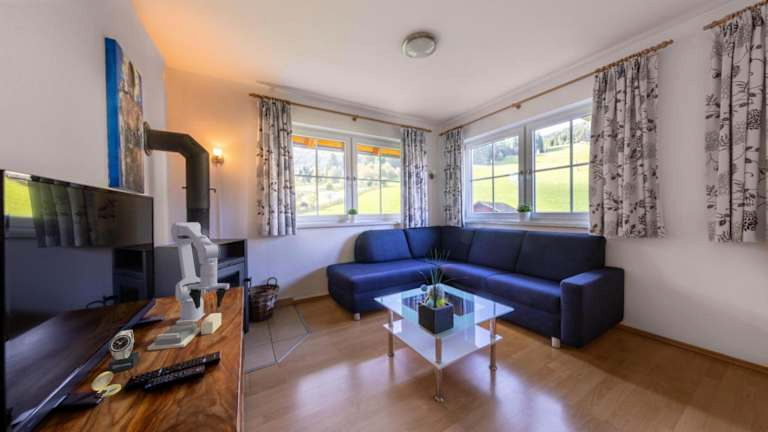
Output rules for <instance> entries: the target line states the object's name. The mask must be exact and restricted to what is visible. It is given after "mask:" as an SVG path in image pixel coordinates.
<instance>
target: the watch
mask: <svg viewBox="0 0 768 432" xmlns="http://www.w3.org/2000/svg"><path fill="white" fill-rule="evenodd" d="M134 343H135V339H134V332H133V329H127V330H120V332H118V333H117V334H116V335H115V336H114V338H113V339H111V340H110V342H109V344H108V348H109V351H110V352H111V355H112V356H113V357H112V358H111V360H110V361H109V362H108V371H107V372H112V373H113V374H114V373H118V372H123V371H127V370H132V369H134V368H135V367H136V365H137V364H138V362H140V360H139V352H140V351H135V352H132V351H133V348H134Z"/></svg>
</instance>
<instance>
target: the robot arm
mask: <svg viewBox="0 0 768 432" xmlns="http://www.w3.org/2000/svg"><path fill="white" fill-rule="evenodd" d="M170 227H171V228H170V234H171V240H172V242H173V243H175V244H176V246H177V249H178V255H179V263H180V271H181V278H182V279H181V280H180V281H178V282H177V283H176V284H175V293H174V294H175V299H176V301H178V302H180V304H179V305H180V306H179V307H180V308H179V309H180V315H179V319H177V321H185V320H194V323H197V322H199V320H201V319H202V317H204V316H205V315H206V314H207V313H206V312H204V310H205V309H204V303H205V301H204V299H203V297H204V296H205V294H206V291H208V290H213V291H215V290H216V291H215V294H216V308H217V309H219V308H220V307H221V306H222V302H223V299H224V296H225V295H226V292H227V291H228V290H229V289H230V283H225V282H223V283H221V282H220V283H219V282H218V258H220V257H221V247H220V245H219V244H218V243H213V242H212V241H211V240H210V239H209V237H208V236H206V235H204V234H202V233H201V230H202V226H201V224H200V222H198V221H195V222H173V223H172V224H171V226H170ZM192 245H193V246H194V248H195V249H196V250H197V257H198V263H199V264H200V272H199V274H200V277H199V276H197V274H196V268H195V262H194V255H193V249H192Z"/></svg>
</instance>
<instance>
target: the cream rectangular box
mask: <svg viewBox="0 0 768 432" xmlns="http://www.w3.org/2000/svg"><path fill="white" fill-rule="evenodd" d="M200 323H201V324H200V325H201V326H200V327H201V331H200V333H201V334H200V335H211V334H214V332H216V331H217V329H218V328H219V327H220V326H221V325H222V312H216V313H210V314H209V315H208V316H207V317H205V318H204V320H202V321H201V322H200Z"/></svg>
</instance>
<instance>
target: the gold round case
mask: <svg viewBox="0 0 768 432" xmlns="http://www.w3.org/2000/svg"><path fill="white" fill-rule="evenodd" d="M113 377H114V372H113V373H112V372H108V371H105V372H102V373H99V375H98V376H97V377H95V379H94V380H93V381H92V383H91V387H90V388H91V389H92V390H93V391H97V392H96V394H97V393H103V395H102V396H103V398H107V397H111V396H112V395H115V394H117V393H118V392H119V391H121V389H122V385H121V384H119V383H115V384H110V383H111V381H112V380H113ZM109 384H110V385H109Z"/></svg>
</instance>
